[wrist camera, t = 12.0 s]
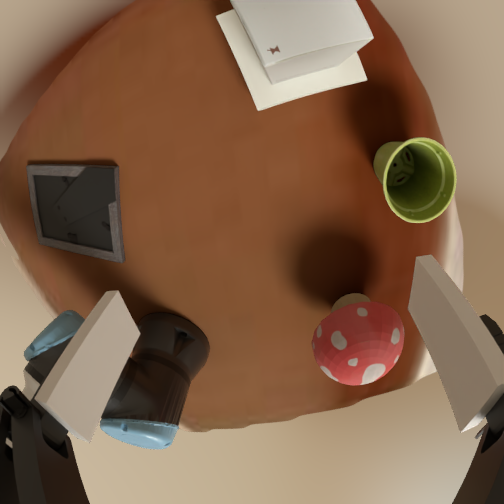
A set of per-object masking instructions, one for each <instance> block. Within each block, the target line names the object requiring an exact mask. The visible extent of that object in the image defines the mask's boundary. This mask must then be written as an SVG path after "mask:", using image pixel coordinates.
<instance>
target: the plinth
mask: <svg viewBox="0 0 504 504" xmlns="http://www.w3.org/2000/svg"><path fill="white" fill-rule="evenodd" d="M216 18H217V20H218V22H219V24H220V26H221V28H222V30H223V32H224V34H225V37H226V39H227V41H228V43H229V45H230V47H231V49H232V52H233V54H234V56H235V58H236V60H237V63H238V65H239V67H240V69H241V72H242V74H243V76H244V79H245V81H246V83H247V86H248V88H249V90H250V93H251V95H252V97H253V100H254V102H255V105H256V107H257V109H258V111H260V110H264V109H267V108H270V107H273V106H276V105H279V104H282V103H285V102H288V101H291V100H294V99H298V98H301V97H304V96H308V95H311V94H315V93H319V92H322V91H326V90H330V89H334V88H338V87H342V86H346V85H351V84H355V83H359V82H363V81H366V80H367V78H366V75H365V72H364V69H363V67H362V64H361V62H360V59H359V57H358V54H357V52H355V53H354V54H352V55H351V56H350V57H349V58H347V59H346V60H345V61H343V62H342V63H341V64H340V65H339V66H337V67H333V68H329V69H325V70H321V71H318V72H314V73H310V74H307V75H303V76H300V77H296V78H293V79H289V80H286V81H283V82H280V83H277V84H274V85H272V84H271V82H270V80H269V78H268V76H267V74H266V72H265V70H264V68H263V66H262V64H261V62H260V60H259V58H258V56H257V54H256V52H255V50H254V48H253V46H252V44H251V42H250V40H249V38H248V36H247V34H246V32H245V30H244V28H243V26H242V24H241V22H240V20H239V18H238V16H237V14H236V12H235V10H234V9H233V10H230V11H228V12H225V13H222V14H220V15H217V16H216Z"/></svg>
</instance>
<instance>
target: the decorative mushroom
mask: <svg viewBox="0 0 504 504" xmlns="http://www.w3.org/2000/svg"><path fill="white" fill-rule="evenodd" d="M403 341H404V328H403V324H402V321H401V319H400V316H399V314H398V313H397V312H396V311H395V310H394V309H393V308H391V307H390V306H388V305H385V304H382V303H379V302H371V301H370V299H369V298H368V297H367V296H365V295H363V294H360V293H352V294H347V295H345V296H343V297H341V298H340V299H339V300H337V301H336V302H335V304H334V305H333V307H332V310H331V314H330V315H329V316H327V317H326V318H325V319H323V320H322V321H321V323H320V324H319V326H318V327H317V328H316V330H315V332H314V336H313V340H312V347H313V352H314V356H315V359H316V362H317V363H318V365H319V366H320V368H321V369H322V370H323V371H324V372H325V373H326V374H327V375H328V376H329V377H330V378H332V379H334V380H336V381H338V382H340V383H343V384H348V385H363V384H367V383H371V382H373V381H376V380H378V379H379V378H381V377H383V376H384V375H385V374H386V373H387V372H388V371H389V370H390V369H391V368H392V367H393V366H394V365H395V363H396V362H397V360H398V358H399V356H400V354H401V352H402V348H403Z"/></svg>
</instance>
